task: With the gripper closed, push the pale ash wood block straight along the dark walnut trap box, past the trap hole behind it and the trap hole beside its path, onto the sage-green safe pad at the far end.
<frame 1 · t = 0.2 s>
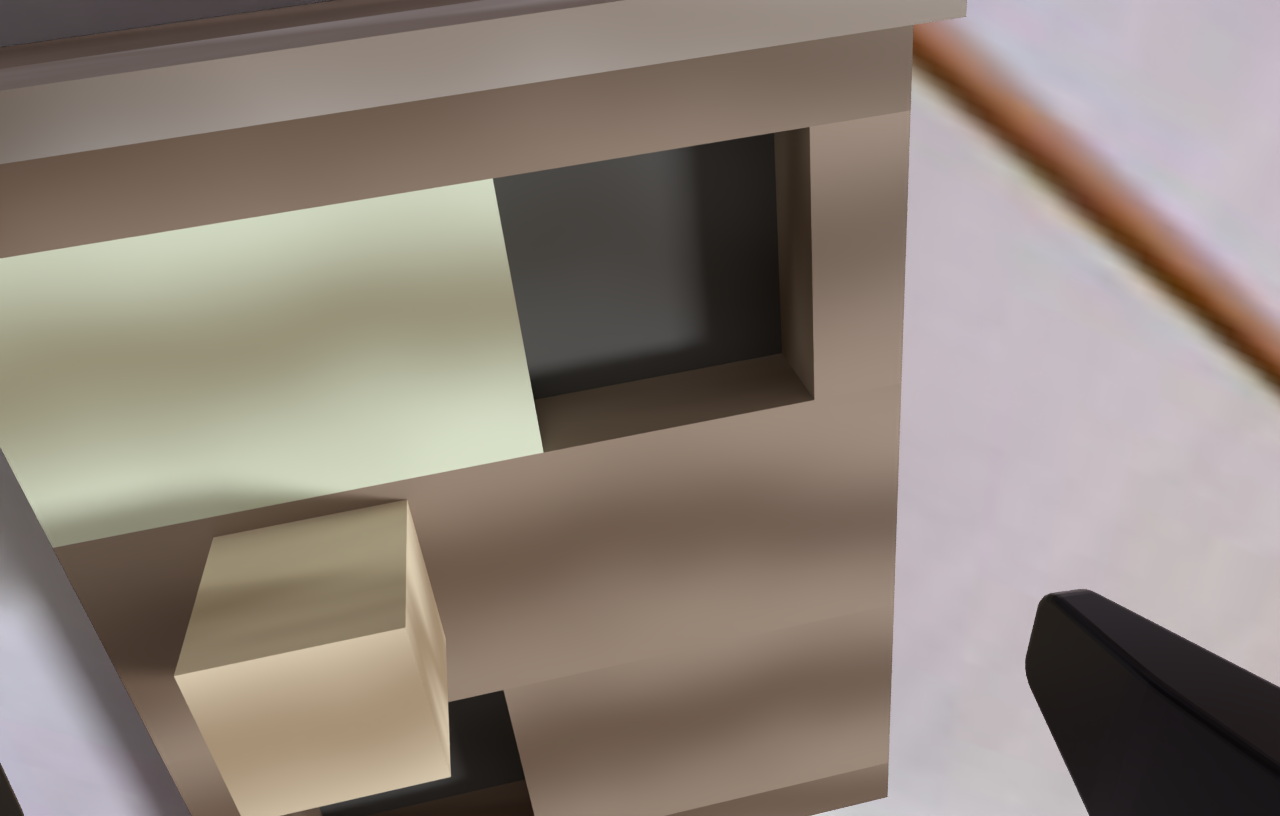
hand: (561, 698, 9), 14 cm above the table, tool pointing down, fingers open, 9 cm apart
block: (336, 590, 22), point 2 cm above the table, touching trap box
trap box: (507, 491, 25), on the table
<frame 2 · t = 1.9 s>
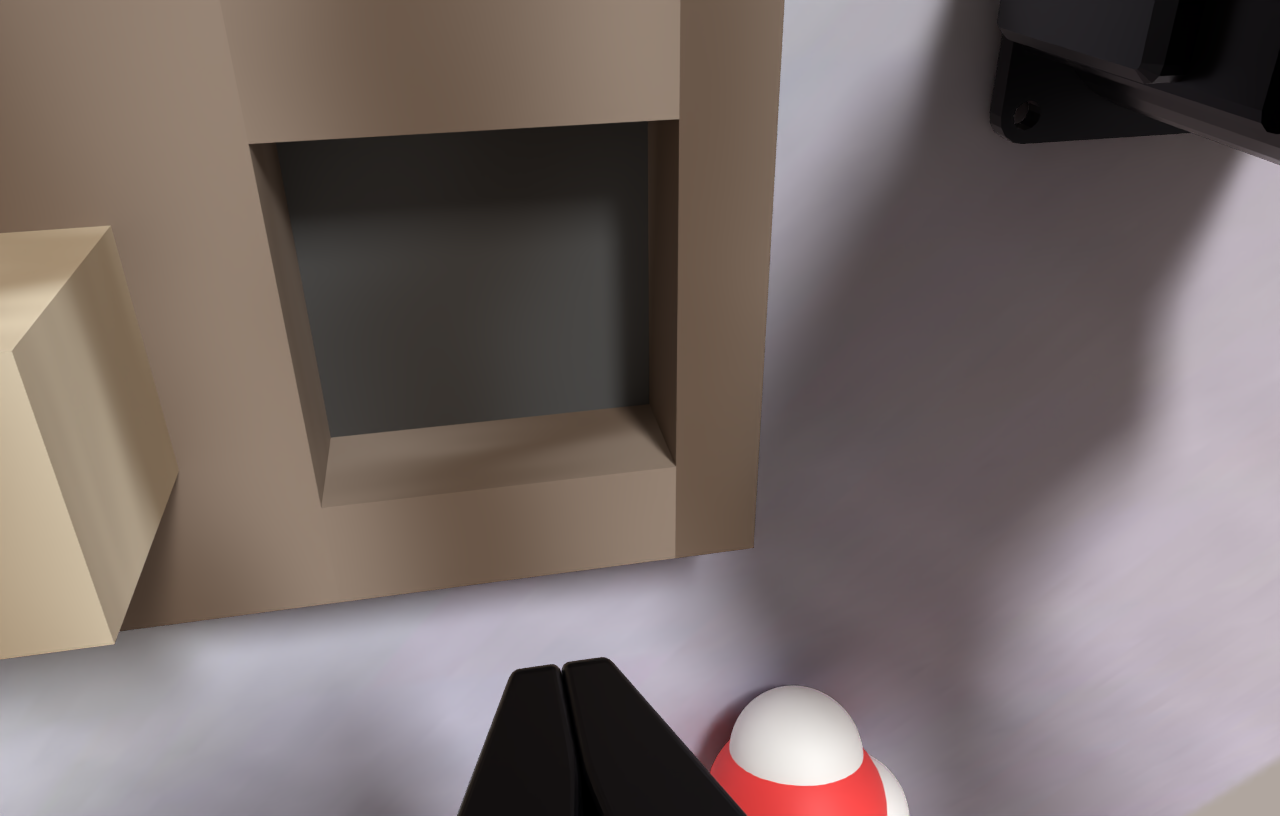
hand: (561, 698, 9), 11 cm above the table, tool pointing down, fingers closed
molecule: (783, 726, 25), on the table
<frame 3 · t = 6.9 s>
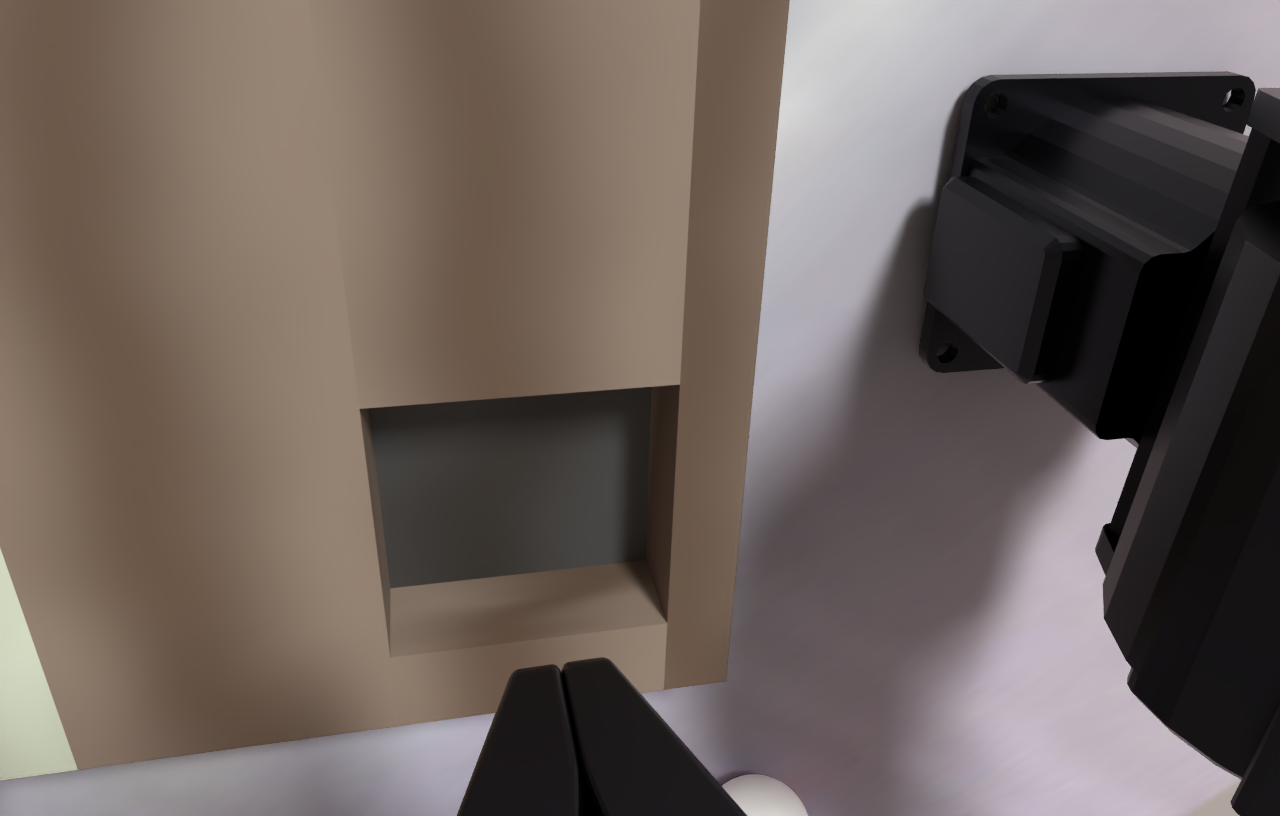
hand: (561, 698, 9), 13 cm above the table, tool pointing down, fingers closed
molecule: (746, 803, 30), on the table
trap box: (140, 316, 19), on the table
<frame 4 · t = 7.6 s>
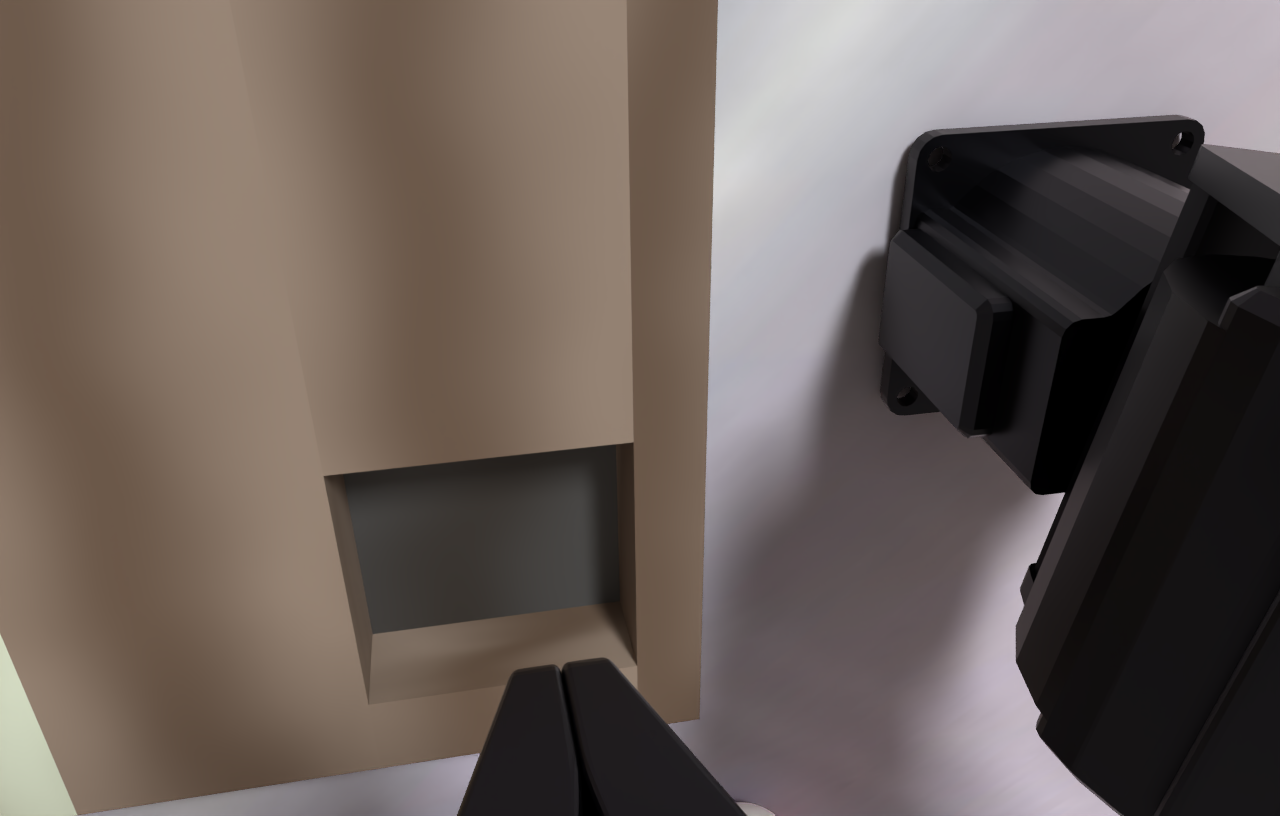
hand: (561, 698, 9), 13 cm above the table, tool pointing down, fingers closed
trap box: (119, 389, 20), on the table
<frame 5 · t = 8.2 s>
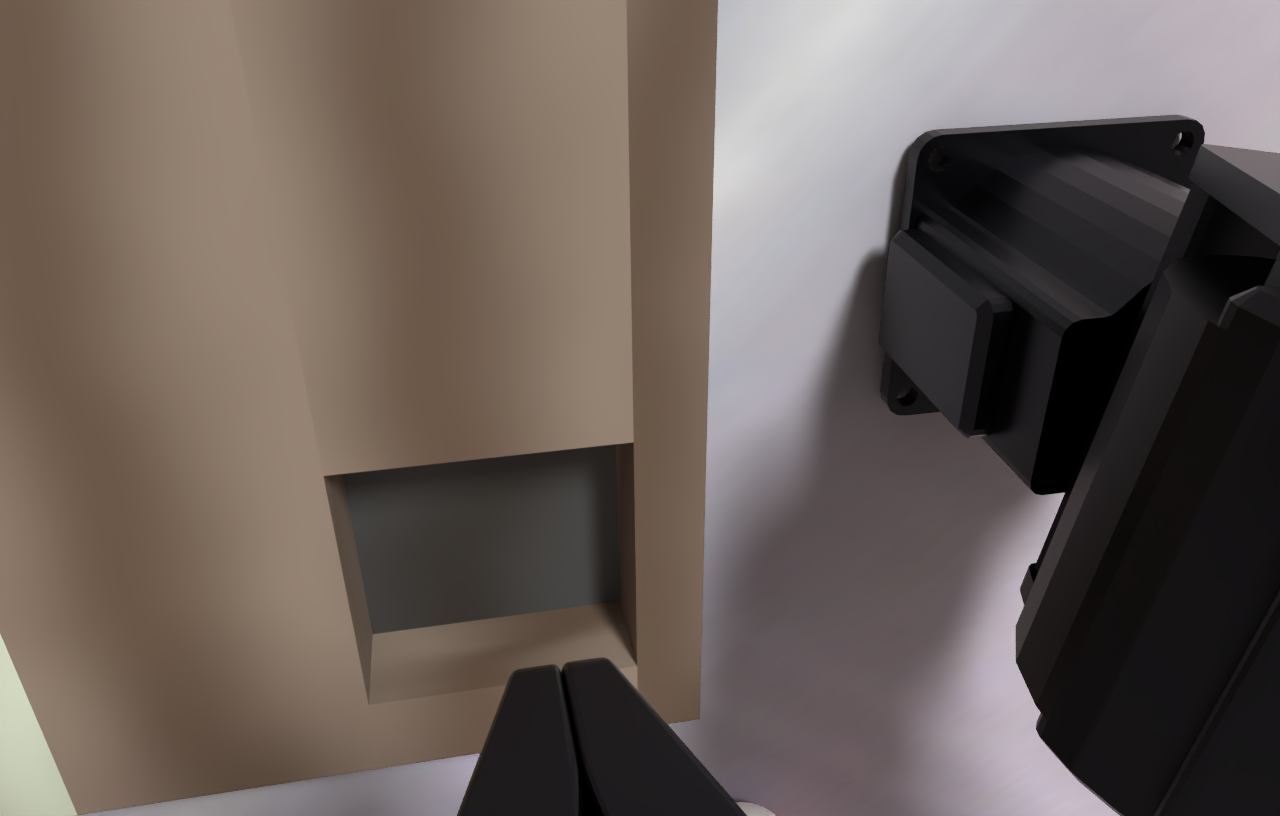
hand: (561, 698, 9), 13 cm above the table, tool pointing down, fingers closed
trap box: (119, 389, 20), on the table
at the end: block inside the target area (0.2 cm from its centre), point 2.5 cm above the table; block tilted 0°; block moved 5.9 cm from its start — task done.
